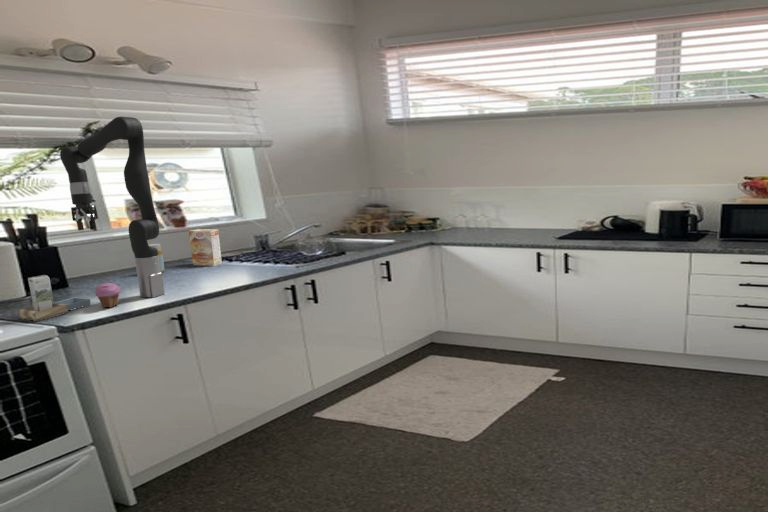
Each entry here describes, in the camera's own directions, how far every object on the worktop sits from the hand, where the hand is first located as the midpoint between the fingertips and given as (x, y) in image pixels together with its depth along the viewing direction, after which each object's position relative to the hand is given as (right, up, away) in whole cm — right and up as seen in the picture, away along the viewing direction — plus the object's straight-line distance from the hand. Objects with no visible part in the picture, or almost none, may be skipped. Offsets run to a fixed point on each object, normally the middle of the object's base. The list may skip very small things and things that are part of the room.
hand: (87, 229), depth 230 cm
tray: (0, -35, -29) cm, 45 cm away
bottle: (+12, -21, +45) cm, 51 cm away
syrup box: (0, -34, -29) cm, 44 cm away
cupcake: (+20, -32, -20) cm, 43 cm away
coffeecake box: (+32, -16, +62) cm, 72 cm away
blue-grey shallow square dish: (+4, -32, -17) cm, 37 cm away
